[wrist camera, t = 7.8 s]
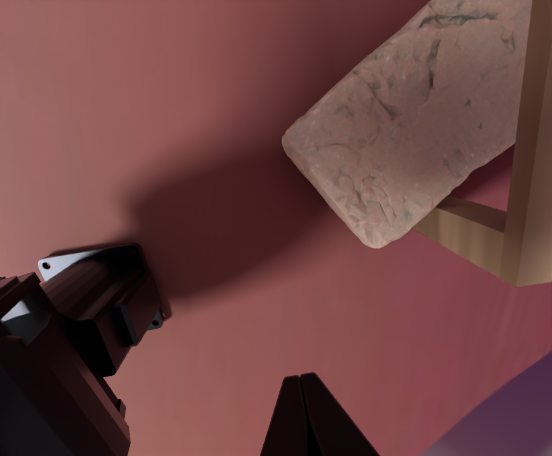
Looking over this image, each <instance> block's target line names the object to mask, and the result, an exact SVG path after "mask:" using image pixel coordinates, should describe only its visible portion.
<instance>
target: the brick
mask: <svg viewBox="0 0 552 456" xmlns="http://www.w3.org/2000/svg"><path fill="white" fill-rule="evenodd" d="M531 7H532V0H431V1H429V2H428V3H427V4H426V5H425V6H424V7H423V8H421V9H420V10H419V11H418V12H417V13H416V14H415V15H414V16H413V17H412V18H411V19H410V20H409V21H408V22H407V23H406V24H405V25H404V26H403V27H402V28H401V29H400V30H399V31H398V32H396V33H395V34H394V35H393V36H391V37H390V38H389V39H388V40H387V41H385V42H384V43H383V44H382V45H380V46H379V47H378V48H377V49H375V50H374V51H373V52H372V53H370V54H369V55H368V56H366V57H365V58H364V59H363V60H362V61H361V62H360V63H359V64H358V65H357V66H356V67H354V68H353V69H352V70H351V71H350V72H349V73H348V74H347V75H346V76H345V77H344V78H342V79H341V80H340V81H339V82H338V83H337V84H336V85H335V86H334V87H332V88H331V89H330V90H329V91H328V92H327V93H326V94H325V95H324V96H323V97H322V98H321V99H320V100H319V101H318V102H317V103H316V104H315V105H314V106H313V107H311V108H310V109H309V110H308V111H307V112H306V113H305V115H303V116H301V117H300V118H298V119H297V120H296V121H295V122H294V124H293V125H292V126H291V127H290V128H288V129H287V130H286V131H285V134H284V135H283V136H282V146H283V149H284V151H285V153H286V154H287V156H288V157H289V158H291V160H292V161H293V163H294V164H295V165H296V167H297V168H298V169H299V171H300V172H302V174H303V175H304V176H305V177H306V178H307V179H308V180H309V181H310V182H311V184H312V185H313V186H314V187H315V188H316V189H317V191H318V192H319V194H320V195H321V196H322V197H323V198H324V199H325V201H326V203H327V204H328V205H329V206H330V207H331V208H332V209H333V210H334V211H335V213H336V214H337V215H338V216H339V217H340V218H341V219H342V220H343V221H344V222H345V223H346V225H347V226H348V227H349V228H350V229H351V231H352V232H353V233H354V234H355V235H356V236H357V237H358V238H359V239H360V240H361V241H362V242H363V244H365V245H367V246H369V247H371V248H381V247H383V246H385V245H387V244H388V243H390V242H391V241H394V240H397V239H399V238H401V237H402V236H403V235H404V234H405V233H407V232H408V231H409V230H410V229H411V228H412V227H413V226H414V225H415V224H417V223H418V222H419V221H420V220H421V219H423V218H424V217H425V216H426V215H427V214H428V213H429V212H430V211H431V210H432V209H434V208H435V207H436V206H437V205H438V204H439V203H440V202H441V201H442V200H443V199H444V198H445V197H446V196H447V195H449V194H450V193H451V191H452V190H453V189H454V188H456V187H457V186H459V185H460V184H461V183H462V182H463V181H464V180H465V179H466V178H467V177H468V176H469V174H470V173H471V172H472V171H473V170H475V169H477V168H478V167H481V166H483V165H485V164H486V163H488V162H489V161H491V160H492V159H493V158H495V157H496V156H498V155H499V154H501V153H502V152H503V151H505V150H506V149H508V148H509V147H510V146H512V145H513V144H515V140H516V132H517V124H518V115H519V107H520V99H521V90H522V82H523V74H524V65H525V57H526V49H527V40H528V32H529V24H530V15H531Z"/></svg>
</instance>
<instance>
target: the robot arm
mask: <svg viewBox="0 0 552 456" xmlns="http://www.w3.org/2000/svg"><path fill="white" fill-rule="evenodd" d="M130 248H131V249H134V250H135V251H136V253H132V252H131V251H130ZM47 263H49V264H50V266H51V267H50V266H48V265H47ZM38 267H39V269H40V271H41V274H42V276H43V278H44V280H45V282H44V283H43V284H41V285H40V284H39V283H40V282H41V281H40V279H39V278H38V276H37V275H36V273H35V272H31V273H28V274H25V275H22V276H19V277H17V276H14V277H10V278H5V277H0V456H127V455H128V451H129V447H130V443H131V442H130V433H129V426H128V425H127V423H126V422H125V420H124V418H125V410H126V406H125V405H124V403H123V402H122V400H121V399H117V397H116V396H115V394H114V393H113V391H112V390H111V388H110V387H109V386H108V384H107V383H106V381H105V380H104V378H103V377H108V376H113V375H115V373H116V372H117V370H118V369H119V367H120V365H121V364H122V362H123V360H124V359H125V357H126V355H127V354H128V352H129V350H130V349H131V347H133V346H137V345H138V344H139V342H140V341H141V339H142V337H143V336H144V334H145V332H146V331H147V330H152V329H158V328H160V327H161V326H162V325H163V323H164V316H163V313H162V310H161V307H160V306H161V305H162V302H161V299H160V295H159V292H158V289H157V286H156V283H155V280H154V277H153V274H152V273H151V272H150V271H149V270H148V267H147V264H146V260H145V257H144V254H143V251H142V248H141V247H140V245H138V244H136V243H128V244H121V245H115V246H109V247H103V248H97V249H90V250H84V251H78V252H72V253H65V254H59V255H53V256H47V257H45V258H43V259H41V260H40V261H39V262H38ZM154 320H157V321H158V322H155V321H154ZM260 456H380V455H379V454H378V453H377V451H376V450H375V449H374V447H373V446H372V445H371V444H370V442H369V441H368V440H367V438H366V437H365V436H364V435H363V433H362V432H361V431H360V429H359V428H358V427H357V426H356V424H355V423H354V422H353V420H352V419H351V418H350V417H349V415H348V414H347V413H346V411H345V410H344V409H343V408H342V406H341V405H340V404H339V402H338V401H337V400H336V399H335V397H334V396H333V395H332V393H331V392H330V391H329V390H328V388H327V387H326V386H325V385H324V383H323V382H322V381H321V379H320V378H319V377H318V376H317V374H316V373H314V372H311V373H305V374H301V375H300V377H299V376H298V375H293V376H287V377H285V378H284V380H283V382H282V386H281V389H280V392H279V395H278V399H277V402H276V405H275V408H274V412H273V415H272V418H271V421H270V425H269V428H268V431H267V434H266V438H265V441H264V444H263V447H262V451H261V454H260Z"/></svg>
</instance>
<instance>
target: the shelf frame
mask: <svg viewBox="0 0 552 456" xmlns="http://www.w3.org/2000/svg"><path fill="white" fill-rule="evenodd" d="M412 229H414V230H416V231H417V232H419V233H421V234H423V235H424V236H426V237H428V238H430V239H431V240H433V241H435V242H437V243H439V244H440V245H442V246H444V247H446V248H447V249H449V250H451V251H453V252H454V253H456V254H458V255H460V256H461V257H463V258H465V259H467V260H468V261H470V262H472V263H474V264H476V265H477V266H479V267H481V268H483V269H484V270H486V271H488V272H490V273H491V274H493V275H495V276H497V277H498V278H500V279H502V280H504V281H506V282H507V283H509V284H511V285H513V286H514V287H522V286H528V285H534V284H540V283H546V282H552V0H532V7H531V15H530V24H529V32H528V40H527V49H526V57H525V65H524V74H523V82H522V90H521V99H520V107H519V115H518V124H517V132H516V140H515V149H514V157H513V165H512V174H511V182H510V190H509V198H508V207H507V212H505V211H502V210H498V209H495V208H491V207H488V206H484V205H481V204H477V203H474V202H470V201H467V200H463V199H460V198H456V197H453V196H449V195H447V196H446V197H445V198H444V199H443V200H442V201H441V202H440V203H439V204H438V205H437V206H436V207H435V208H434V209H432V210H431V211H430V212H429V213H428V214H427V215H426V216H425V217H424V218H423V219H421V220H420V221H419V222H418V223H417V224H415V225H414V226H413V227H412Z"/></svg>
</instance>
